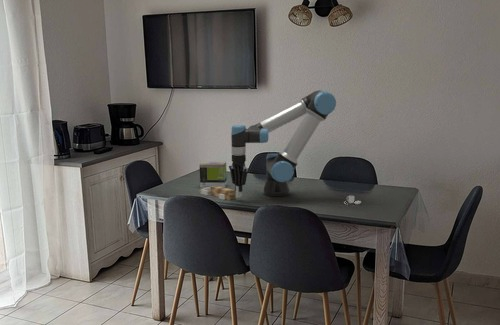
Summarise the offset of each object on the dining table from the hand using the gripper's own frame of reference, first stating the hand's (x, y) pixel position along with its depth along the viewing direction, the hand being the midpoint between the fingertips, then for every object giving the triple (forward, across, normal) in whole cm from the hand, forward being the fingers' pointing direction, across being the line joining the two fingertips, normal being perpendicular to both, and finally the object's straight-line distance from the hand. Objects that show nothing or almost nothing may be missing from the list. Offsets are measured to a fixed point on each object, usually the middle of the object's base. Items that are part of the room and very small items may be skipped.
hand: (238, 197), depth 267 cm
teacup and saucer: (+3, -49, -35) cm, 60 cm away
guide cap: (+2, +10, 0) cm, 10 cm away
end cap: (+2, +24, 0) cm, 25 cm away
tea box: (+2, +34, -13) cm, 37 cm away
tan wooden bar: (+2, +13, 0) cm, 13 cm away
